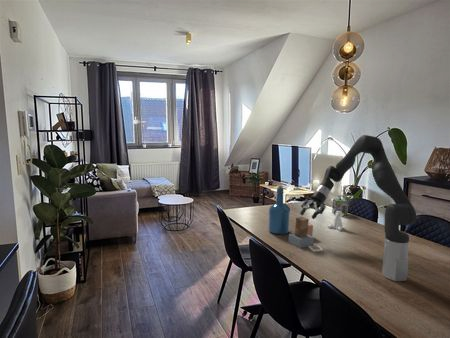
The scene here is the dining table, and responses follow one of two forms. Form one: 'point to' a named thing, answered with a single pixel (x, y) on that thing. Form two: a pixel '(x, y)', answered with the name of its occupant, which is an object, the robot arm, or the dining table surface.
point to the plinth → (301, 240)
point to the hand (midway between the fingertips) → (306, 216)
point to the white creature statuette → (337, 221)
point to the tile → (315, 248)
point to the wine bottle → (279, 215)
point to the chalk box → (340, 206)
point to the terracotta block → (310, 229)
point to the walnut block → (301, 227)
